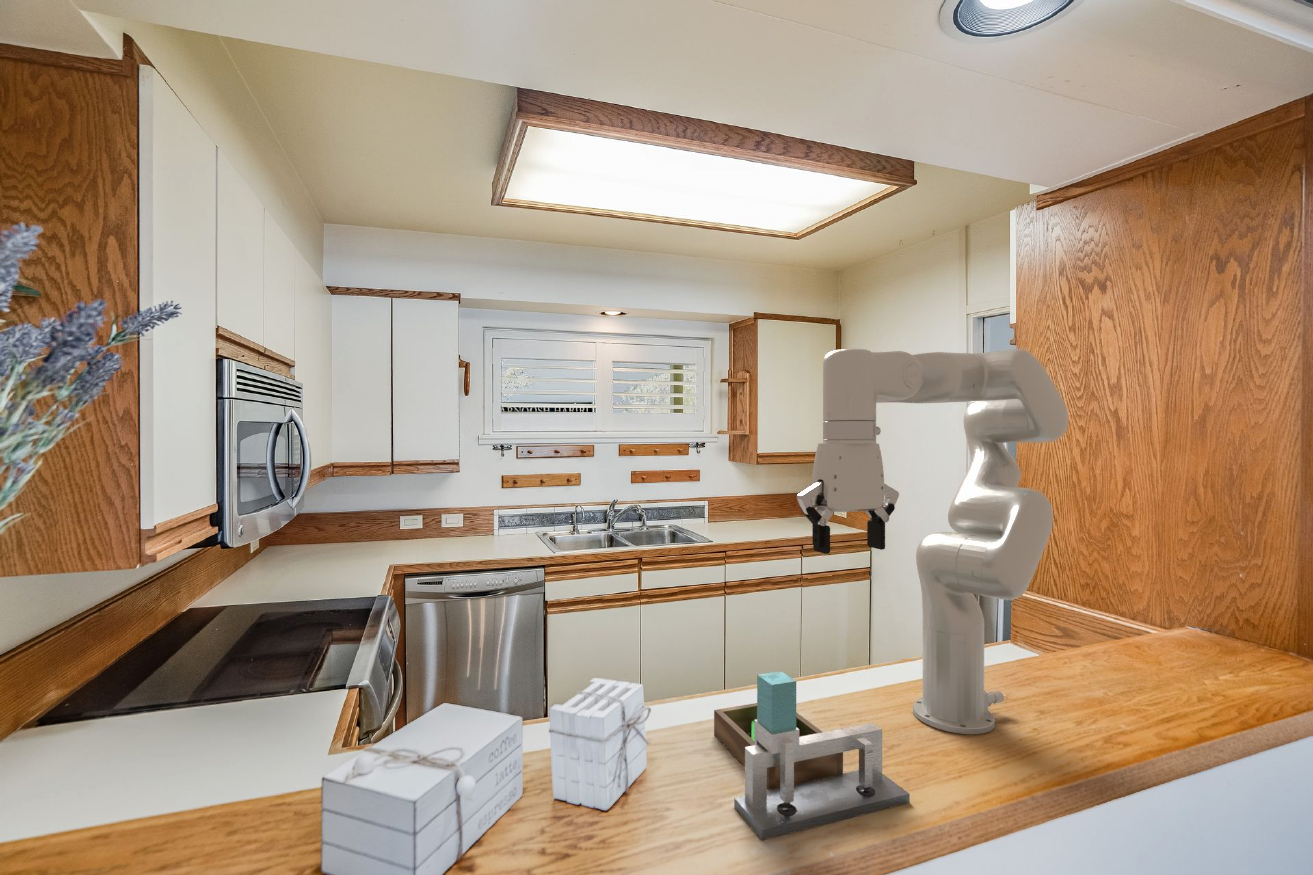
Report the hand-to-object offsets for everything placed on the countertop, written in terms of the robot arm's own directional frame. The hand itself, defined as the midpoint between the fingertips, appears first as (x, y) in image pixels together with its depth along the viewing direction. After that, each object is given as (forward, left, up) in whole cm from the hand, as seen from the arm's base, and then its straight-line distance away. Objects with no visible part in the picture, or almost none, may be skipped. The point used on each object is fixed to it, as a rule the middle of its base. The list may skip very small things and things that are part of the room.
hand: (849, 550), depth 90 cm
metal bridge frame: (+10, +7, -31) cm, 34 cm away
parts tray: (+9, -6, -31) cm, 33 cm away
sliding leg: (+16, +6, -29) cm, 34 cm away
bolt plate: (+10, +8, -31) cm, 34 cm away
